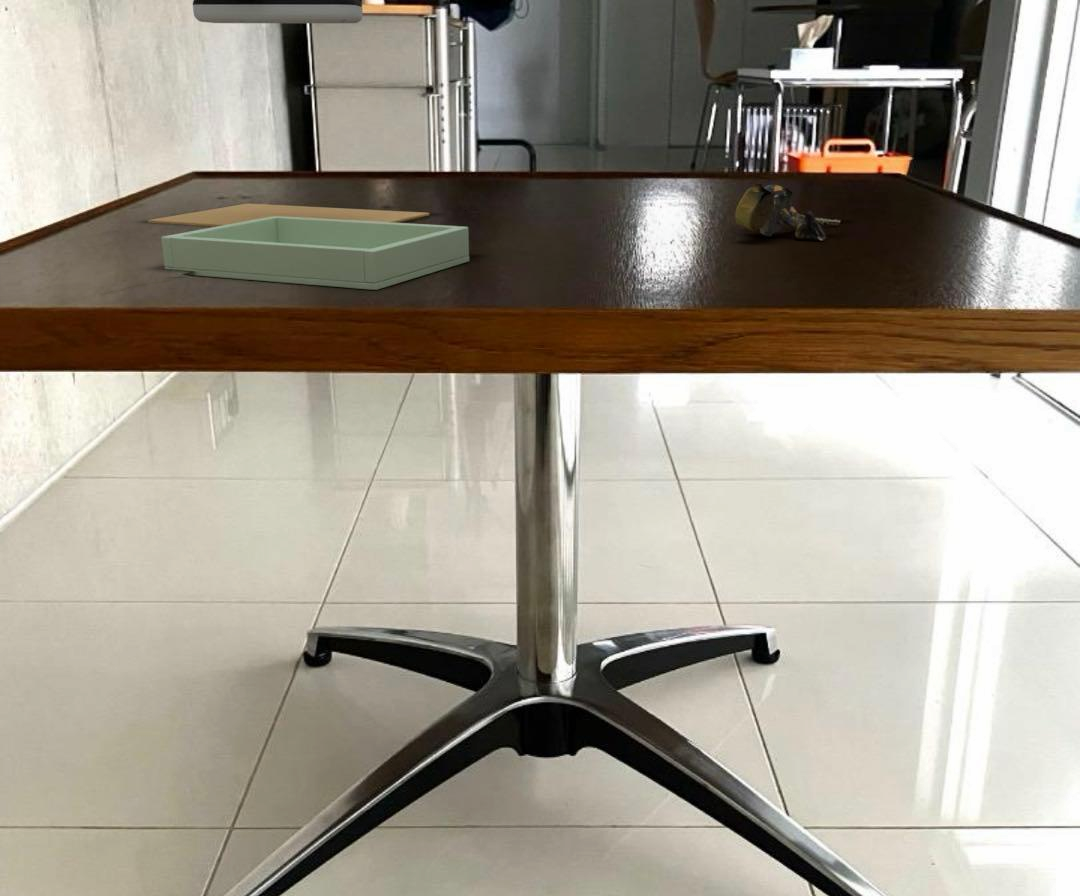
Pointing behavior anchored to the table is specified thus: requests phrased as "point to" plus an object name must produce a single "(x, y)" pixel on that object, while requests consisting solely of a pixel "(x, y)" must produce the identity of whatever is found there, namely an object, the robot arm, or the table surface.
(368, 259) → the tray
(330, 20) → the remote control
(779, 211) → the regulator
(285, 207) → the mat
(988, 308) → the table surface
